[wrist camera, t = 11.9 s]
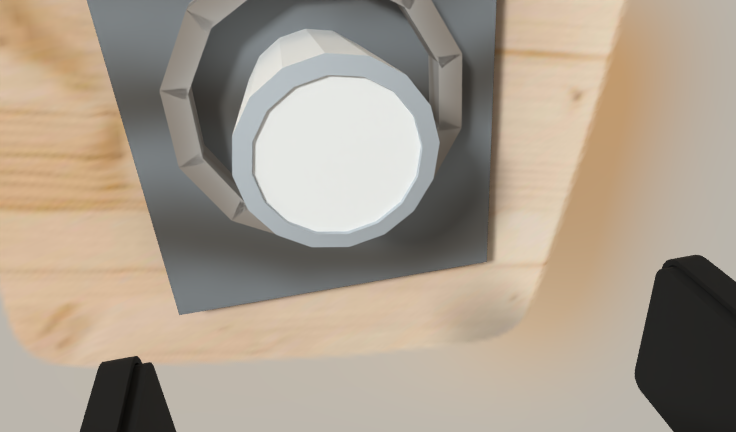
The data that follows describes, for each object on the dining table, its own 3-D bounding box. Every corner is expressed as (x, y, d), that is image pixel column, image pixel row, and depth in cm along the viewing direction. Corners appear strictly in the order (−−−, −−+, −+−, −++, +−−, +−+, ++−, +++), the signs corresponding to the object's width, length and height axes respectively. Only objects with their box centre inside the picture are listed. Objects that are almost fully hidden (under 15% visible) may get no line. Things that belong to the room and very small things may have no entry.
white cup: (414, 38, 24) (471, 84, 18) (366, 182, 27) (402, 264, 21) (251, -10, 22) (256, 25, 16) (218, 152, 25) (211, 233, 19)
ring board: (50, -162, 20) (23, -171, 18) (488, -190, 22) (521, -202, 20) (182, 297, 30) (176, 334, 28) (476, 247, 32) (497, 277, 30)
